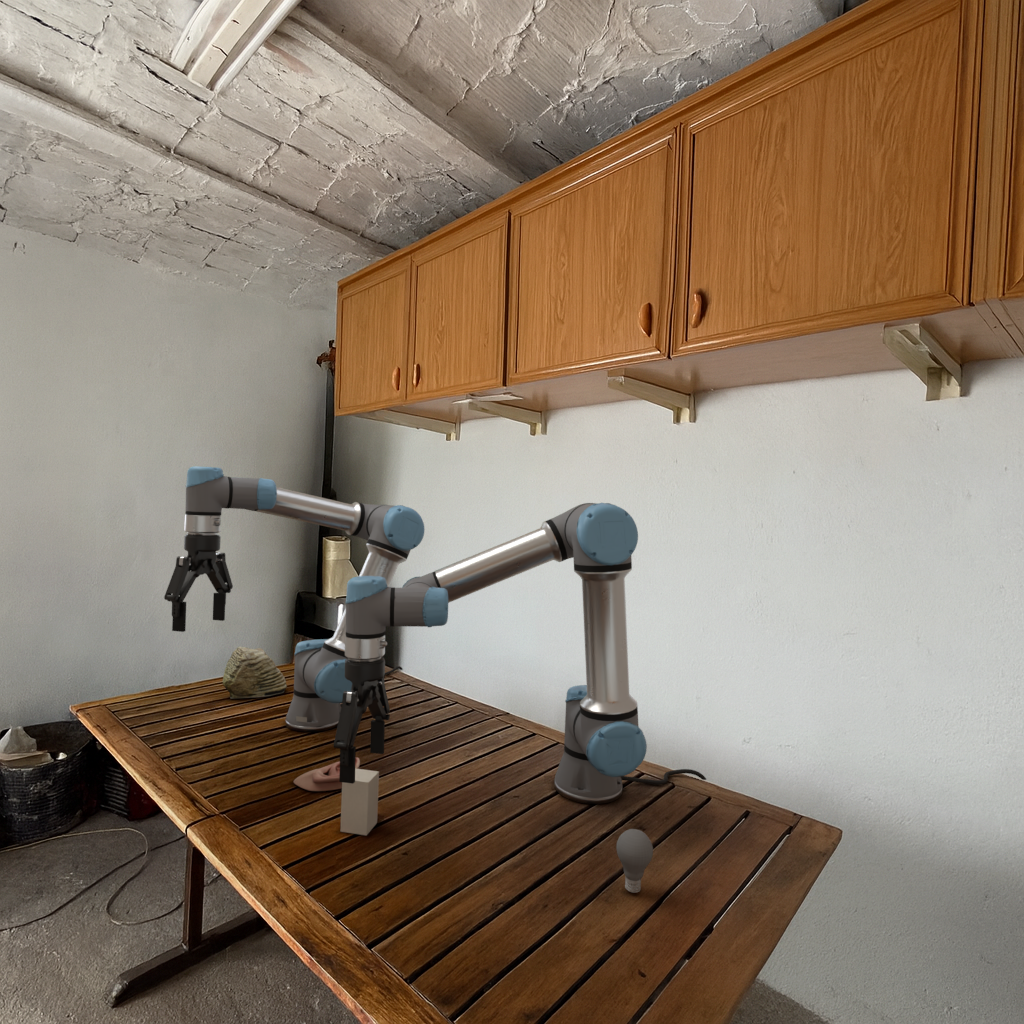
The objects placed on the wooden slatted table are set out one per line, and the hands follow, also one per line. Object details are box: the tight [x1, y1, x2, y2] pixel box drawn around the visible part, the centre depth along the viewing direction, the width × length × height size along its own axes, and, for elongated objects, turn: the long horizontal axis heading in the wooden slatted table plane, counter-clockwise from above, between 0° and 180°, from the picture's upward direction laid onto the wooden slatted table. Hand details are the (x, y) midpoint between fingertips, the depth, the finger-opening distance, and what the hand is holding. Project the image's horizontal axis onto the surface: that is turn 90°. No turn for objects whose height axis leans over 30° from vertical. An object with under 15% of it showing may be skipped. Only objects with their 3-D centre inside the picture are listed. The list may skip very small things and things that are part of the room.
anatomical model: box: [293, 757, 361, 792], centre depth 141 cm, size 13×4×12 cm
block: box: [339, 768, 380, 836], centre depth 122 cm, size 5×5×10 cm
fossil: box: [222, 646, 288, 699], centre depth 198 cm, size 9×18×15 cm, turn 132°
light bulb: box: [615, 828, 654, 894], centre depth 106 cm, size 6×6×10 cm
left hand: (199, 625), depth 146 cm, fingers open, 13 cm apart
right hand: (363, 766), depth 122 cm, fingers open, 13 cm apart
